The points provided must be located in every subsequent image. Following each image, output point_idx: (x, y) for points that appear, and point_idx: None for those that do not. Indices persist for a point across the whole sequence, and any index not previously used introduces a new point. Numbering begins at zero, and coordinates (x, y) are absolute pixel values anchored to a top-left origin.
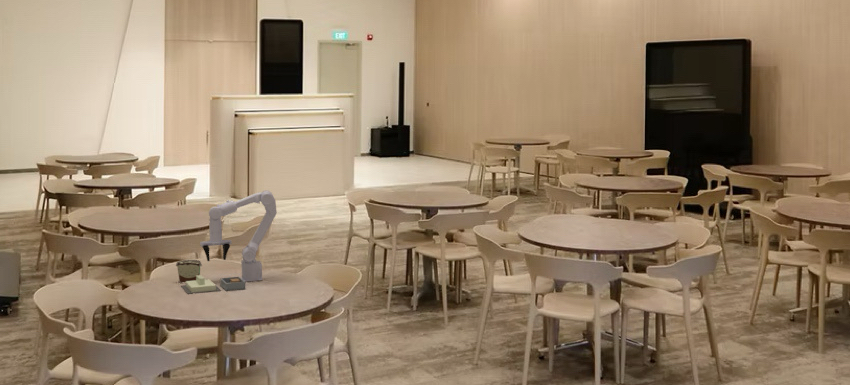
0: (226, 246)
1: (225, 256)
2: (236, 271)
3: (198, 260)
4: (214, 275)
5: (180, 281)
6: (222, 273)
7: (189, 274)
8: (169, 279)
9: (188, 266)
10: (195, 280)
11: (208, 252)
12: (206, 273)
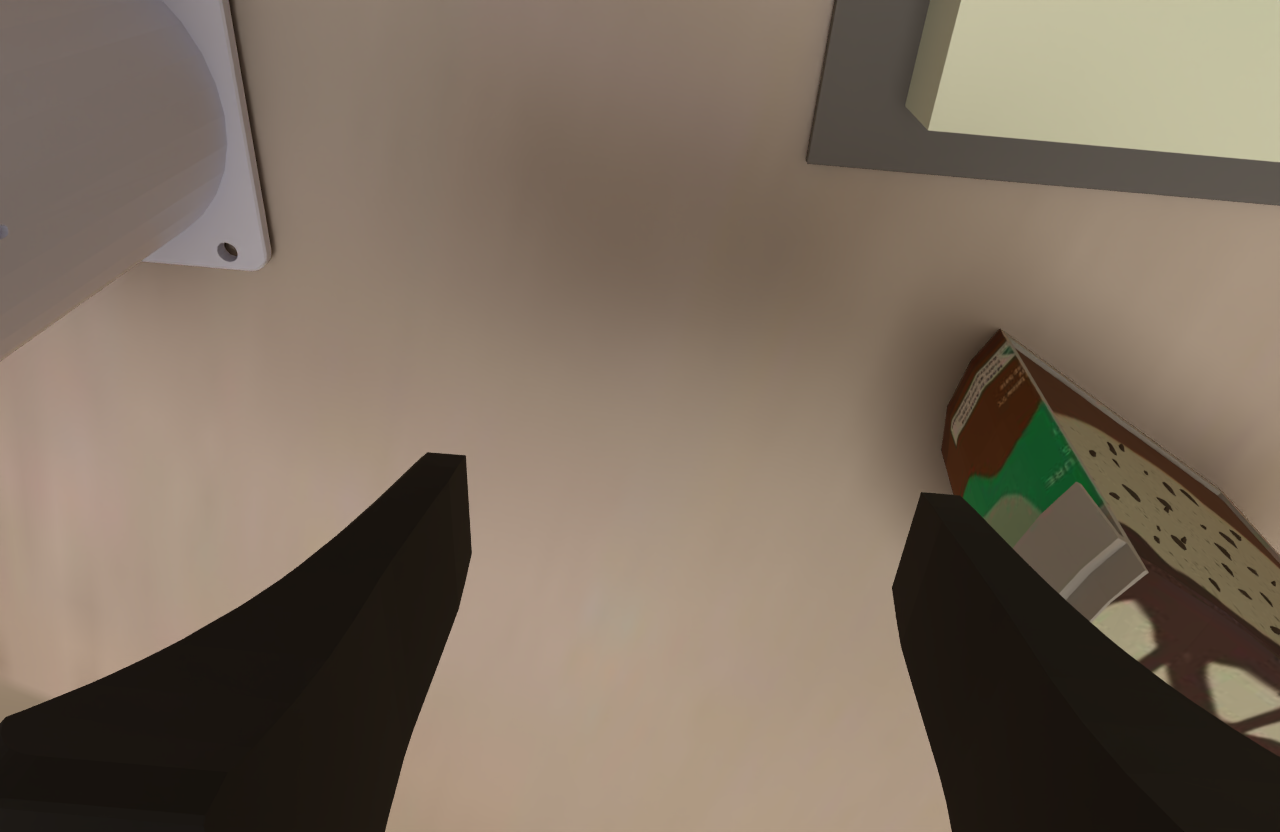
0: (138, 770)
1: (393, 504)
2: None
3: None
4: (592, 652)
5: (1219, 496)
6: (467, 698)
7: (1174, 499)
8: None
9: (1274, 624)
10: (1243, 141)
11: (1091, 687)
12: (650, 770)
